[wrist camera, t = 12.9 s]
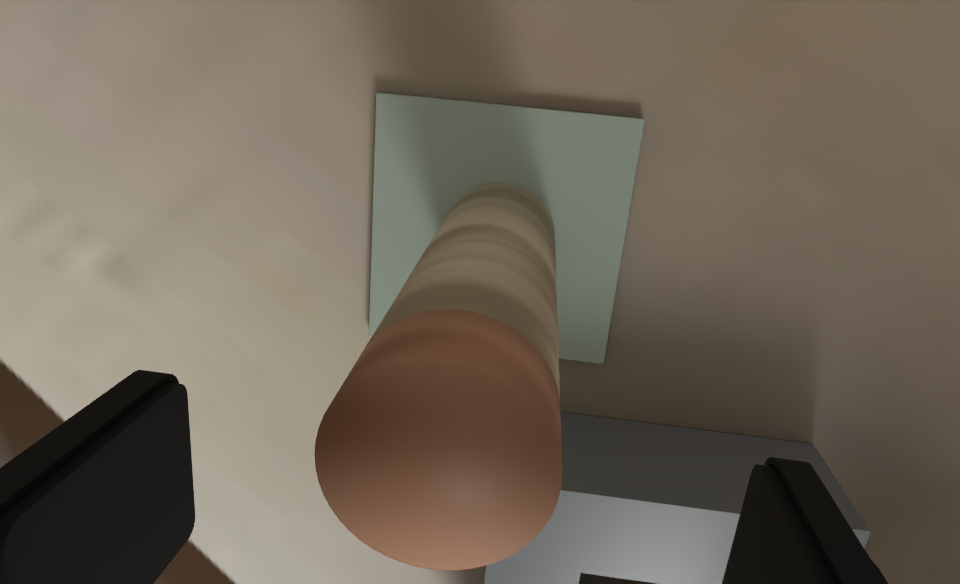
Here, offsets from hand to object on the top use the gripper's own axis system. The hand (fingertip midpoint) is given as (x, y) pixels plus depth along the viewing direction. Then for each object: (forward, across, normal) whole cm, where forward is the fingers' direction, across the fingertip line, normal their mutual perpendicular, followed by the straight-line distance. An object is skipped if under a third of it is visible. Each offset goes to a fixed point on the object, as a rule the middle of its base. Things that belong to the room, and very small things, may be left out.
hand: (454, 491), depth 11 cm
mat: (+14, +1, -1) cm, 14 cm away
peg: (+14, +1, -1) cm, 14 cm away
